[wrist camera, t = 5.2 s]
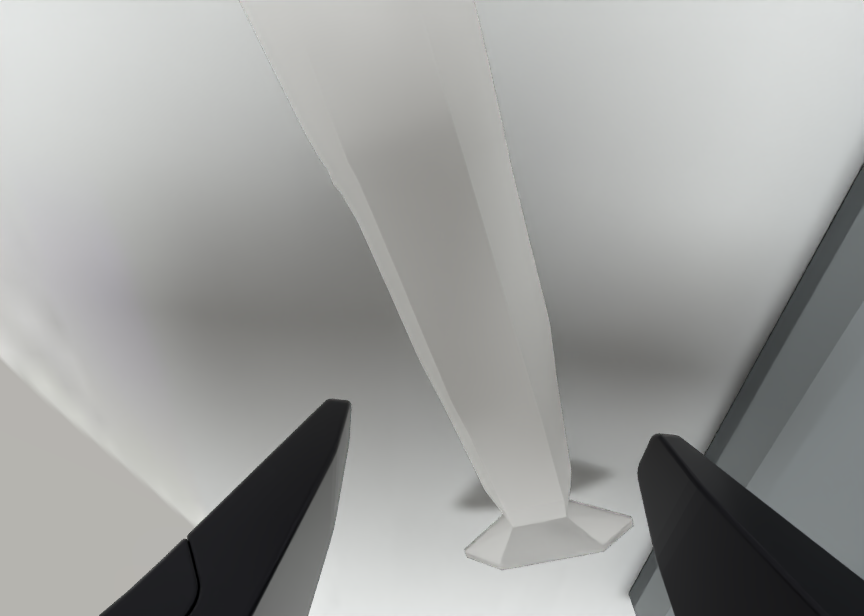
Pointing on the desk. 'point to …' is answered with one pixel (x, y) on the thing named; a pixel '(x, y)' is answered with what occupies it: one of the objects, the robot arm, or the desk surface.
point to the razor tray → (803, 409)
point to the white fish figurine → (444, 240)
